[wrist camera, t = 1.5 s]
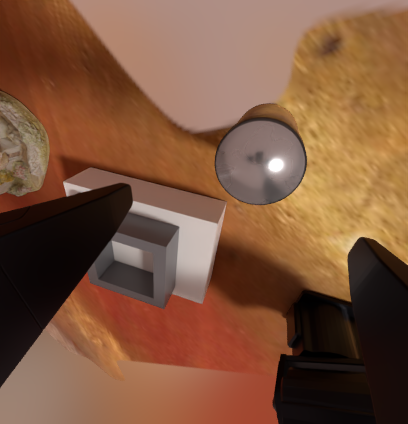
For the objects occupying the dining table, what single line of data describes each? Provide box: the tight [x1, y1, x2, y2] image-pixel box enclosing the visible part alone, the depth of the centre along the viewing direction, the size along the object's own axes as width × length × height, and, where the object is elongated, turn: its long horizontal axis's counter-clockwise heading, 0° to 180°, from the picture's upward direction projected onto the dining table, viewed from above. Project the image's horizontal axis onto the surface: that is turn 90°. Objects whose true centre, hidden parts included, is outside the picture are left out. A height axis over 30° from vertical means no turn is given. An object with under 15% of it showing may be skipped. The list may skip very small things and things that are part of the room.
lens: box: [215, 103, 307, 205], centre depth 16 cm, size 5×5×7 cm
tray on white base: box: [63, 167, 227, 309], centre depth 25 cm, size 16×12×7 cm
